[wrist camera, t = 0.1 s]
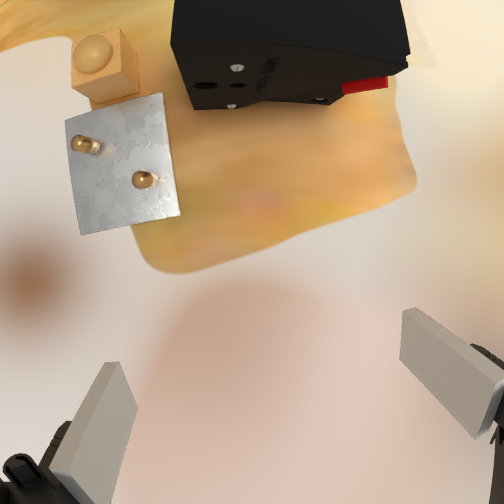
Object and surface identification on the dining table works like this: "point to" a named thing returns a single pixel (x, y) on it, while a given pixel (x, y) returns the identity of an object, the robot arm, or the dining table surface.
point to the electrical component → (286, 49)
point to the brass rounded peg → (144, 179)
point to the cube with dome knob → (105, 66)
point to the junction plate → (122, 165)
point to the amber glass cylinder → (84, 144)
